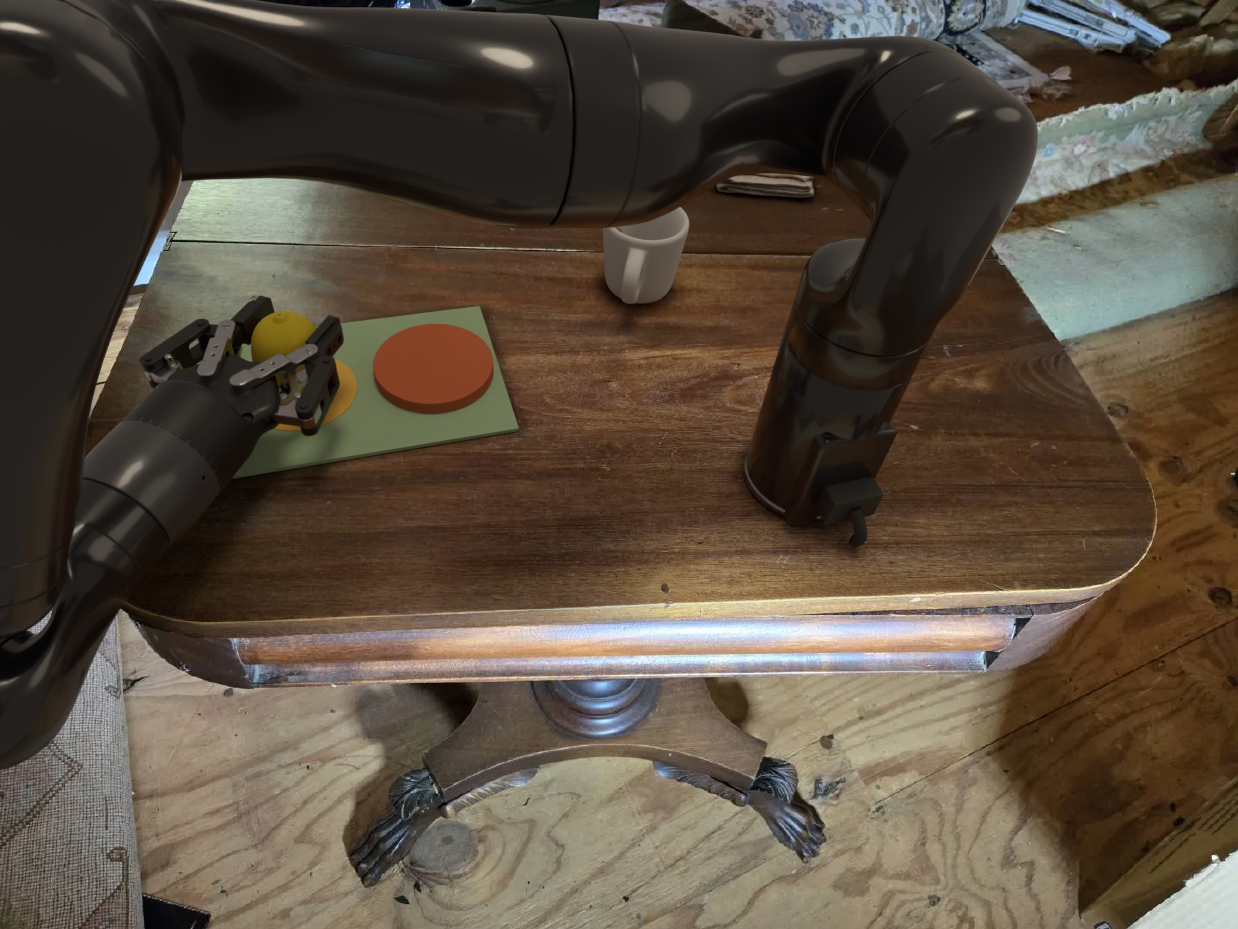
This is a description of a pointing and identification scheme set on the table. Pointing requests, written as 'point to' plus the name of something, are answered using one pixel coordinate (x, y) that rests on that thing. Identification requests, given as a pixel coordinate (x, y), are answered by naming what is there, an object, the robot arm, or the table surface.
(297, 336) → the lemon
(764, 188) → the washcloth
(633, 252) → the cup
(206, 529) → the table surface
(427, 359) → the placemat
